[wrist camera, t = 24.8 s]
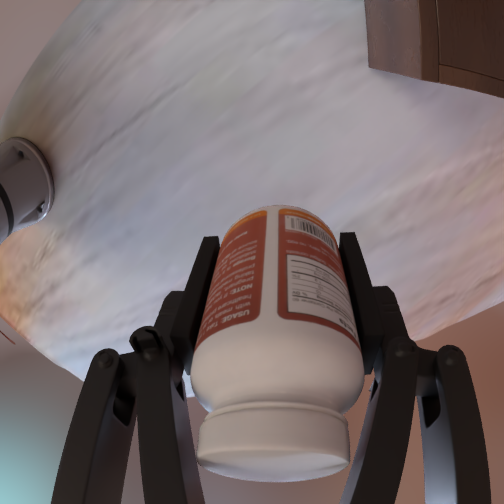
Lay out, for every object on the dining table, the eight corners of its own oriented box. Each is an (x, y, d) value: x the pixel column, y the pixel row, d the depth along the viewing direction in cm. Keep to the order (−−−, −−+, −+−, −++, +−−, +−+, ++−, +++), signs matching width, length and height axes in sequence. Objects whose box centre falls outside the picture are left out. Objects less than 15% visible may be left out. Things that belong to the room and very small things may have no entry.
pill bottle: (235, 298, 19) (204, 482, 10) (209, 208, 15) (130, 428, 6) (338, 289, 18) (361, 481, 9) (336, 194, 14) (395, 428, 5)
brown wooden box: (424, 81, 13) (587, 132, 10) (389, -131, 4) (572, -48, 1) (368, 67, 28) (486, 87, 25) (356, -55, 19) (479, -27, 15)
